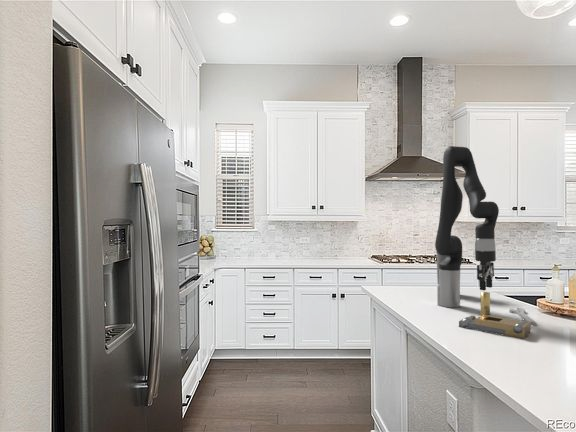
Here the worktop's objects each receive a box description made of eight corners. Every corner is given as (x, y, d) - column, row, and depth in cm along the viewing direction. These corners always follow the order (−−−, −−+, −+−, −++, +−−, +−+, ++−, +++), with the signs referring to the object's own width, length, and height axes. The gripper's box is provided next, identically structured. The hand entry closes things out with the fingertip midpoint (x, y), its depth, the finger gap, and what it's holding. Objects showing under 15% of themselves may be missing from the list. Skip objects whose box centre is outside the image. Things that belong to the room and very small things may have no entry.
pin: (479, 319, 157) (479, 292, 157) (482, 317, 160) (482, 291, 160) (488, 320, 155) (488, 293, 155) (491, 318, 157) (491, 292, 157)
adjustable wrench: (537, 327, 147) (537, 323, 147) (518, 325, 149) (518, 321, 149) (523, 311, 170) (523, 308, 170) (507, 310, 172) (507, 306, 172)
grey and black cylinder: (464, 297, 199) (464, 230, 199) (438, 296, 201) (438, 230, 201) (457, 292, 211) (457, 230, 211) (433, 292, 213) (433, 230, 214)
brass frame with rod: (458, 326, 146) (458, 315, 146) (467, 321, 153) (467, 310, 153) (524, 339, 131) (524, 326, 131) (530, 332, 138) (530, 320, 138)
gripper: (480, 248, 165) (481, 285, 165) (469, 250, 155) (470, 290, 154) (500, 248, 160) (501, 287, 160) (489, 251, 150) (490, 292, 149)
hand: (486, 288), depth 157 cm, fingers open, 8 cm apart
